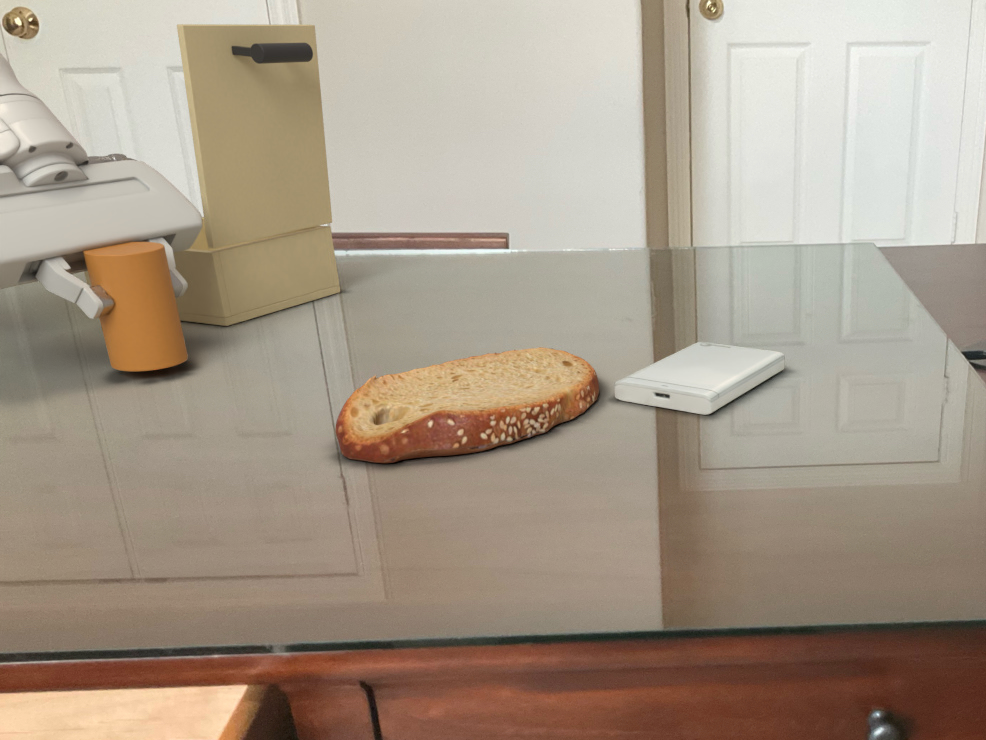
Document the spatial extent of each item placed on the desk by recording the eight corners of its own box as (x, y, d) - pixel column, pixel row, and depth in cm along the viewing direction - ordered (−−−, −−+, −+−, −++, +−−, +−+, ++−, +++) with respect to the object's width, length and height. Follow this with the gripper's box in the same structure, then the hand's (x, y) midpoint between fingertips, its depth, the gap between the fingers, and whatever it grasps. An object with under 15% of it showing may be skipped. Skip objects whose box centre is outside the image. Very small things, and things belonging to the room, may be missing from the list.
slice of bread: (595, 373, 87) (592, 327, 85) (613, 451, 71) (610, 395, 69) (363, 385, 84) (356, 338, 82) (328, 469, 68) (318, 413, 66)
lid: (176, 24, 90) (217, 29, 88) (309, 24, 103) (347, 28, 101) (207, 247, 98) (246, 255, 97) (327, 221, 111) (362, 228, 110)
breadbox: (93, 310, 107) (75, 240, 105) (215, 279, 120) (203, 216, 118) (226, 326, 101) (211, 252, 98) (340, 292, 114) (330, 226, 111)
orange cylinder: (118, 375, 84) (89, 257, 80) (105, 359, 88) (77, 246, 84) (195, 363, 87) (171, 249, 83) (179, 348, 91) (155, 239, 87)
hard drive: (695, 340, 90) (613, 378, 80) (785, 352, 86) (711, 393, 76) (696, 359, 90) (614, 400, 80) (785, 372, 87) (711, 416, 77)
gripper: (122, 178, 94) (228, 300, 95) (-122, 211, 77) (9, 359, 78) (148, 126, 91) (257, 253, 92) (-102, 148, 74) (35, 304, 75)
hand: (142, 302), depth 85 cm, fingers closed on orange cylinder, 5 cm apart
